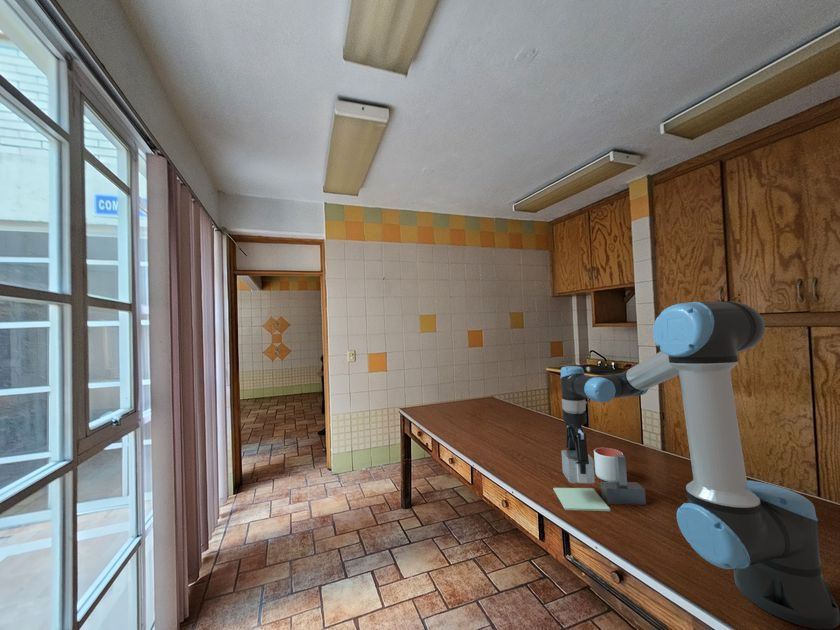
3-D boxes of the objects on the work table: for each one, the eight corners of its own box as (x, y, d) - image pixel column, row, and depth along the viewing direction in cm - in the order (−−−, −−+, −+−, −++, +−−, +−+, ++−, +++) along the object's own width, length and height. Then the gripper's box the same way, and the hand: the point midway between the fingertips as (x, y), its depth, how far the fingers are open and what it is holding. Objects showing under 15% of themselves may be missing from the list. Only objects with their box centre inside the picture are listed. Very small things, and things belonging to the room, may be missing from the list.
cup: (629, 484, 122) (627, 457, 123) (600, 483, 124) (598, 456, 125) (618, 473, 132) (617, 448, 133) (592, 472, 134) (590, 447, 135)
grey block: (645, 504, 109) (642, 458, 109) (607, 503, 110) (604, 458, 111) (637, 496, 114) (634, 453, 114) (601, 496, 115) (598, 453, 116)
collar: (594, 483, 110) (593, 459, 110) (569, 482, 111) (568, 459, 111) (585, 472, 118) (584, 450, 118) (562, 472, 119) (561, 450, 119)
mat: (610, 511, 106) (610, 509, 106) (565, 510, 108) (565, 508, 108) (593, 490, 120) (593, 488, 120) (553, 489, 121) (553, 487, 121)
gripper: (597, 419, 104) (602, 491, 103) (575, 403, 125) (578, 464, 124) (573, 419, 105) (577, 491, 104) (554, 403, 126) (558, 463, 125)
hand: (578, 476), depth 114 cm, fingers closed on collar, 8 cm apart
